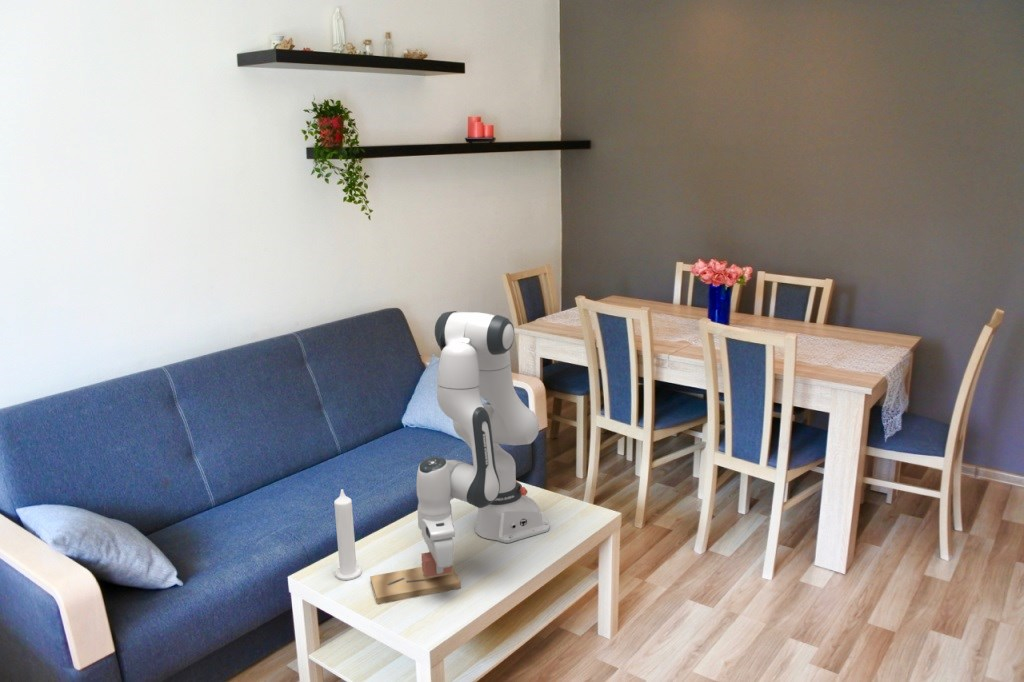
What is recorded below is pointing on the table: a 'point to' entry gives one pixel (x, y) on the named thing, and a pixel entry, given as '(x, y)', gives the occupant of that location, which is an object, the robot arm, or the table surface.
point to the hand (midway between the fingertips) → (436, 566)
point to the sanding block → (432, 566)
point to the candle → (345, 539)
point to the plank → (410, 584)
